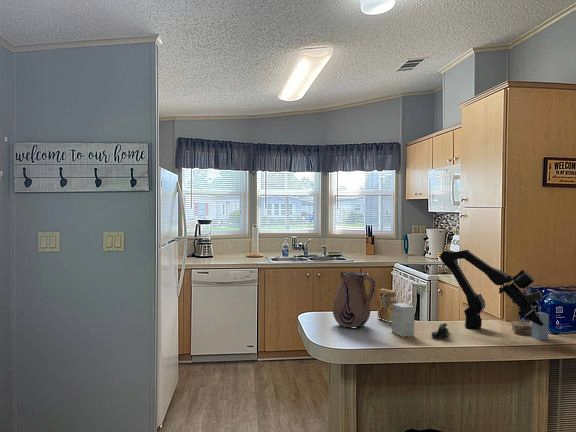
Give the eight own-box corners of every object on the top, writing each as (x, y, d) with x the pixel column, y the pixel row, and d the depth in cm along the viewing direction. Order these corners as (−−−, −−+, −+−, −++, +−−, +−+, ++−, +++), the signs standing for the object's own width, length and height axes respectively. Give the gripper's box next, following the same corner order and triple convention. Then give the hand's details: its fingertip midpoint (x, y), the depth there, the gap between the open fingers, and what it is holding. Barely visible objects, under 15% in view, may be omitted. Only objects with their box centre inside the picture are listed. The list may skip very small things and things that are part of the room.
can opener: (447, 341, 189) (447, 328, 189) (430, 339, 192) (430, 326, 192) (453, 332, 205) (454, 319, 204) (437, 329, 208) (438, 317, 208)
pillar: (538, 340, 193) (539, 314, 193) (531, 337, 198) (532, 312, 198) (548, 339, 194) (548, 314, 194) (540, 336, 198) (541, 312, 198)
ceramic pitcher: (343, 319, 223) (344, 269, 223) (383, 326, 211) (384, 273, 210) (325, 326, 209) (326, 273, 209) (366, 334, 197) (367, 277, 196)
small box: (414, 336, 196) (414, 306, 196) (401, 337, 194) (402, 307, 193) (403, 331, 203) (404, 302, 203) (391, 332, 201) (392, 303, 201)
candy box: (396, 322, 220) (396, 291, 220) (389, 323, 218) (390, 291, 218) (382, 318, 228) (383, 288, 227) (376, 319, 225) (377, 288, 225)
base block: (514, 334, 203) (514, 325, 203) (511, 329, 212) (511, 321, 212) (536, 336, 200) (537, 327, 200) (533, 331, 209) (533, 322, 209)
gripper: (527, 286, 191) (556, 316, 184) (534, 281, 206) (561, 309, 199) (506, 302, 195) (534, 332, 189) (514, 296, 210) (541, 323, 204)
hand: (543, 323), depth 195 cm, fingers closed on pillar, 6 cm apart
